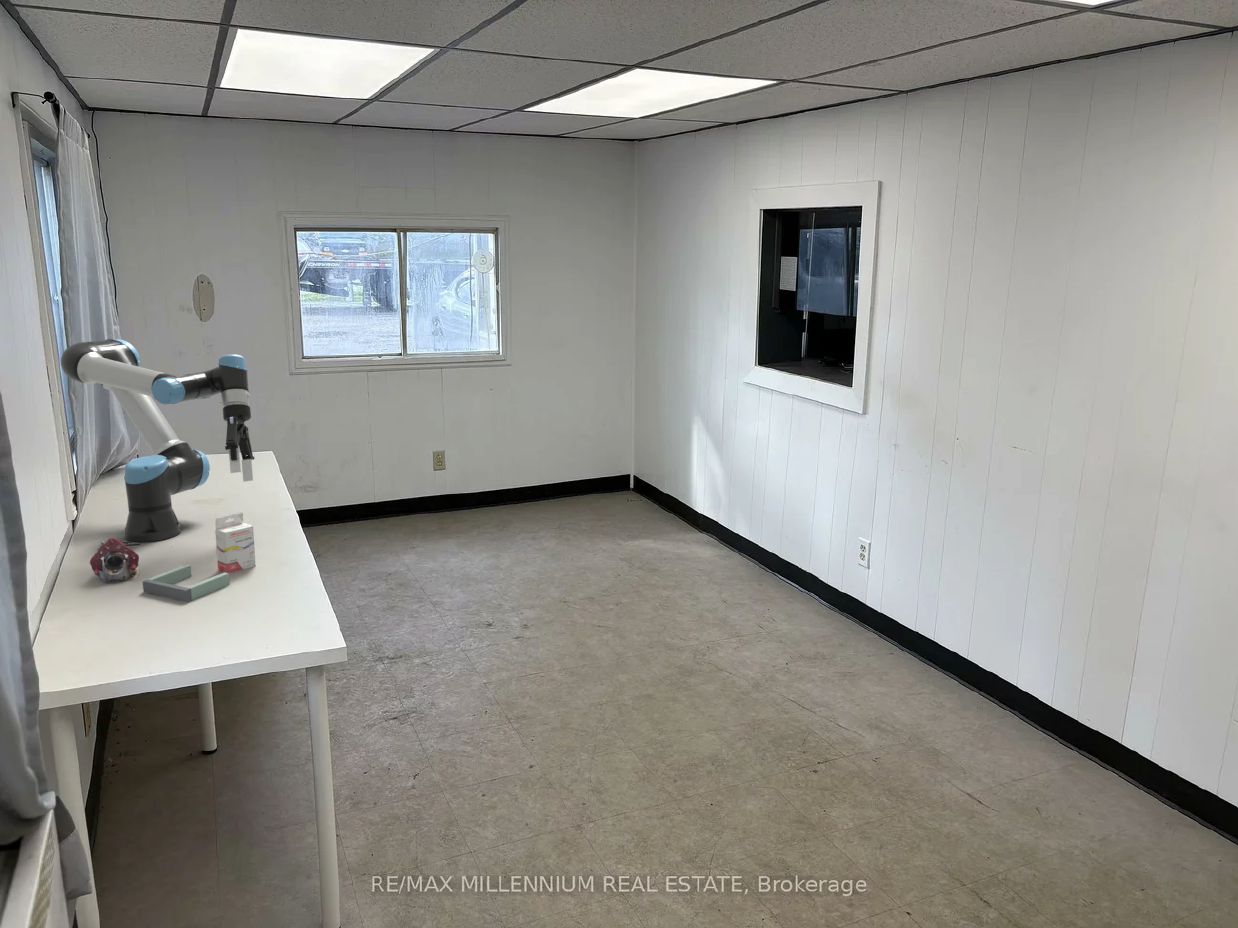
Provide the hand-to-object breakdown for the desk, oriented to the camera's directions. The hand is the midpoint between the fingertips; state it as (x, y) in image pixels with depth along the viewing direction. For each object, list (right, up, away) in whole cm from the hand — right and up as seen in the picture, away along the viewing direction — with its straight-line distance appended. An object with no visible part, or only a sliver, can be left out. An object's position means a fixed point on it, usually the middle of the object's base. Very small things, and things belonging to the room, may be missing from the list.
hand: (242, 476), depth 263 cm
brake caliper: (-24, -26, -23) cm, 42 cm away
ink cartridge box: (+5, -25, -15) cm, 30 cm away
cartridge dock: (-1, -28, -30) cm, 41 cm away
